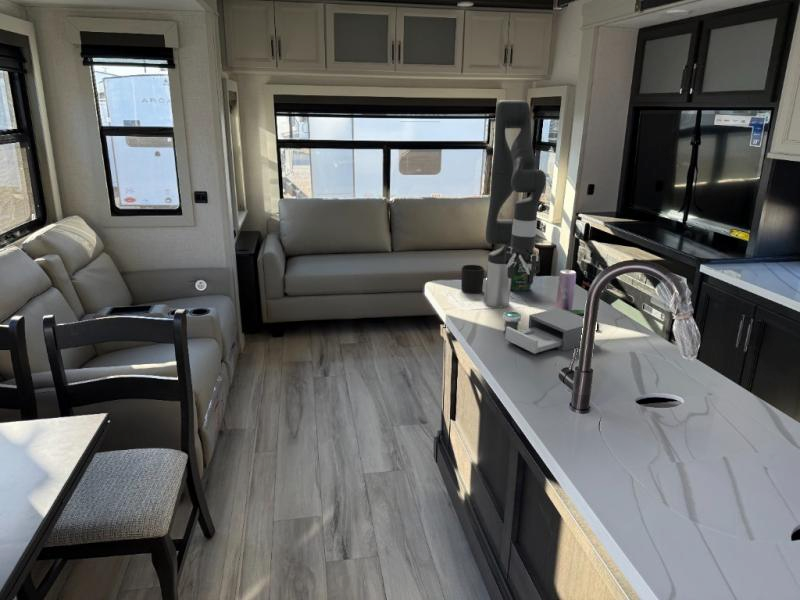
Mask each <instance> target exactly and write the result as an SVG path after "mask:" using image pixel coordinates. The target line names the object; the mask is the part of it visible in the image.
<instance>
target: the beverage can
mask: <svg viewBox="0 0 800 600" xmlns="http://www.w3.org/2000/svg"><path fill="white" fill-rule="evenodd" d="M576 279H577V272H576V271H575V270H572V269H561V270H559V276H558V285H557V292H556V293H557V294H556V295H557V296H556V302H555V309H556V308H561V309H563V310H573V304H574V298H575V297H574V296H575V295H574V294H575V288H576V281H577V280H576Z"/></svg>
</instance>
